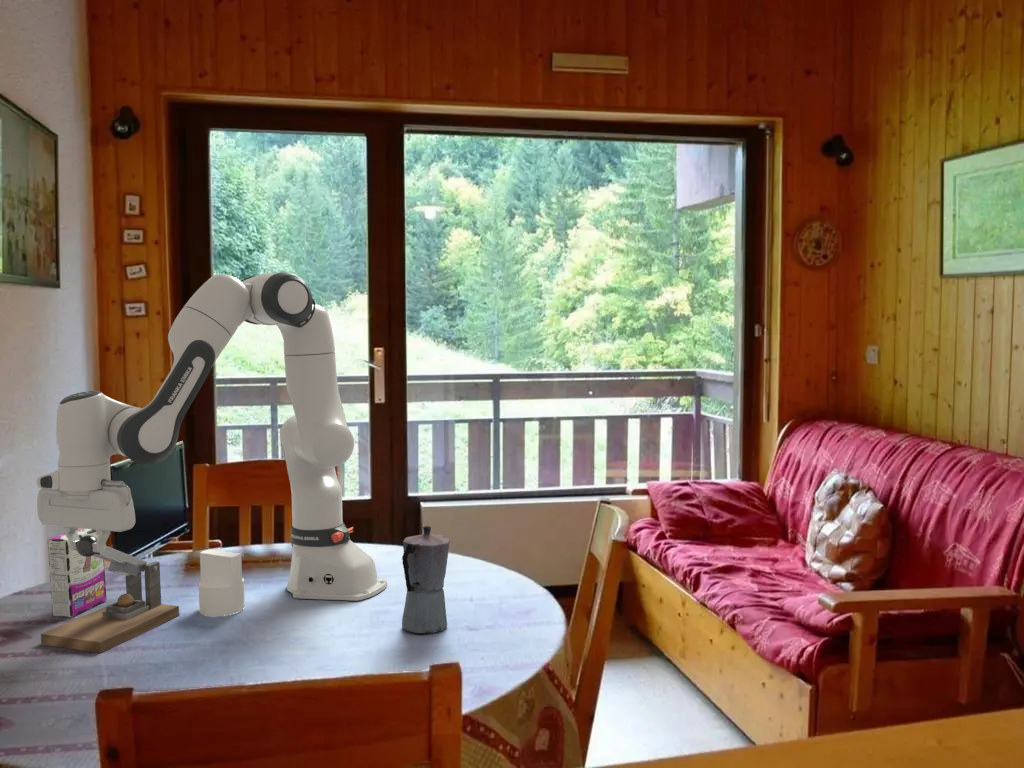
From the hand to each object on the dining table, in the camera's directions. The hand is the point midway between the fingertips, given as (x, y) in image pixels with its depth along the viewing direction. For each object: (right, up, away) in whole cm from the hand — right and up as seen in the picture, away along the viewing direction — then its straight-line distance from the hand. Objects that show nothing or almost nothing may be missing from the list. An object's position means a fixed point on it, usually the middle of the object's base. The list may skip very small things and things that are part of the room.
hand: (87, 550), depth 165 cm
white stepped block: (+19, -16, +18) cm, 31 cm away
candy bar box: (-11, -16, +19) cm, 27 cm away
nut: (+3, -13, +10) cm, 17 cm away
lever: (+1, -4, +4) cm, 6 cm away
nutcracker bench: (+2, -17, +6) cm, 18 cm away
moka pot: (+63, -17, +6) cm, 65 cm away
